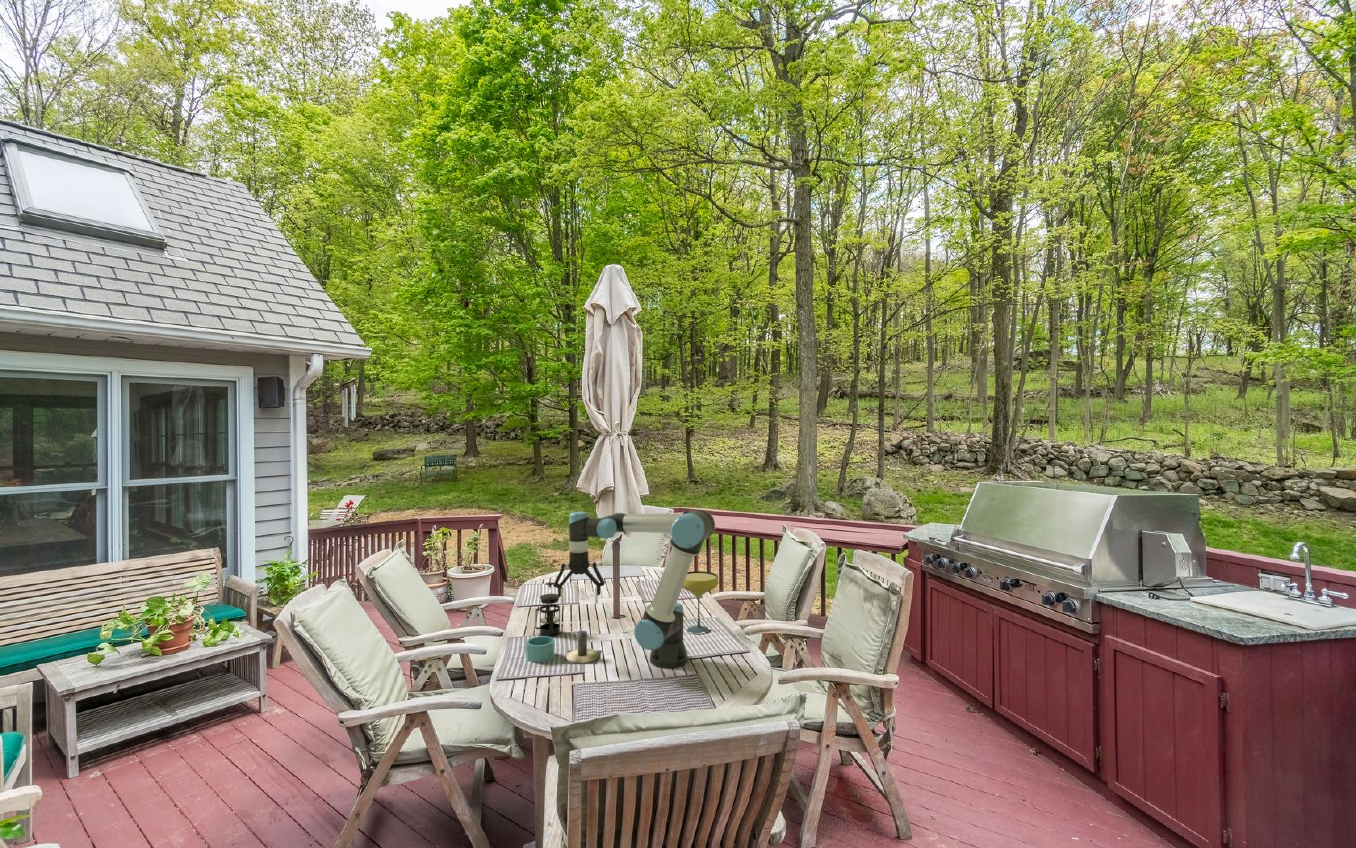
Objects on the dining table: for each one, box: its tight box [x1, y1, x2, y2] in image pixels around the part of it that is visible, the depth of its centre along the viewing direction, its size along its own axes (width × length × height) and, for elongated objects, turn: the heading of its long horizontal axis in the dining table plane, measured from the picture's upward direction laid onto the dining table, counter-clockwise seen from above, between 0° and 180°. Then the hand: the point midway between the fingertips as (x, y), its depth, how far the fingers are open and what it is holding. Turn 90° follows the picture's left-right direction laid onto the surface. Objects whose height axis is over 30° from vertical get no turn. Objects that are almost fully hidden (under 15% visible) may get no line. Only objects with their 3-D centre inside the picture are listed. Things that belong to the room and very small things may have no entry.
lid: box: [565, 630, 599, 665], centre depth 236 cm, size 13×13×10 cm
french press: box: [534, 581, 561, 638], centre depth 264 cm, size 12×9×23 cm
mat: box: [561, 649, 602, 665], centre depth 236 cm, size 14×14×1 cm
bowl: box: [525, 635, 556, 664], centre depth 236 cm, size 11×11×7 cm
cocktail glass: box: [682, 570, 719, 634], centre depth 268 cm, size 18×18×25 cm
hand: (579, 603), depth 234 cm, fingers open, 13 cm apart
